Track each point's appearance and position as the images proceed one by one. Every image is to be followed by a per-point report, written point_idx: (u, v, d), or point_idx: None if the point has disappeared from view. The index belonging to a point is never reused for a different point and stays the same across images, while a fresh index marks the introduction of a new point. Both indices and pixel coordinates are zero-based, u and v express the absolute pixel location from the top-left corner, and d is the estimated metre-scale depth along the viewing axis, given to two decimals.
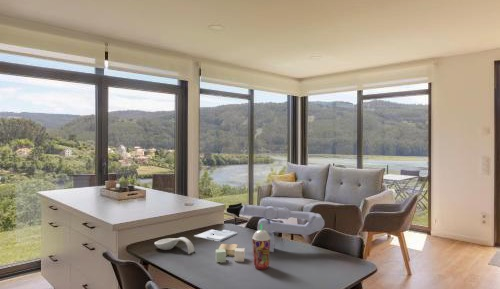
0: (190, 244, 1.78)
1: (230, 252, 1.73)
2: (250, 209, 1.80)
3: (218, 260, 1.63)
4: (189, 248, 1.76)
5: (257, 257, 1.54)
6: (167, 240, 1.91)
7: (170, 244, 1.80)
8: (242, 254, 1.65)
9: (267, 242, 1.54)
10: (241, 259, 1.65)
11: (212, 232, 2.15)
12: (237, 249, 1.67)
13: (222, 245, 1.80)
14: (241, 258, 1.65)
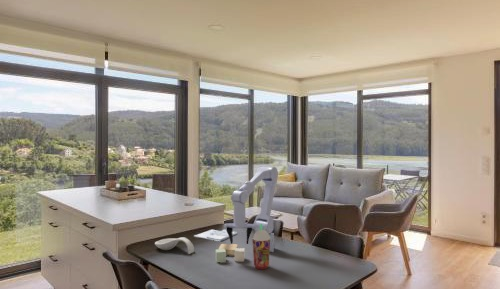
0: (190, 244, 1.78)
1: (230, 252, 1.73)
2: (244, 218, 1.66)
3: (218, 260, 1.63)
4: (189, 248, 1.76)
5: (257, 257, 1.54)
6: (167, 240, 1.91)
7: (170, 244, 1.80)
8: (242, 254, 1.65)
9: (267, 242, 1.54)
10: (241, 259, 1.65)
11: (212, 232, 2.15)
12: (237, 249, 1.67)
13: (222, 245, 1.80)
14: (241, 258, 1.65)
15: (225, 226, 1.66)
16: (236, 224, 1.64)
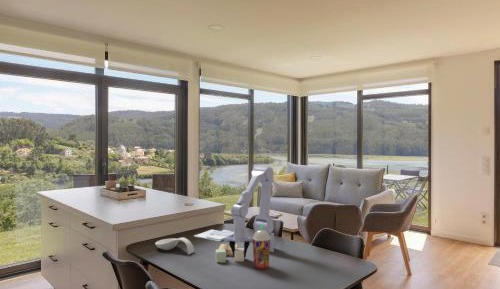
0: (190, 245, 1.77)
1: (230, 252, 1.73)
2: (244, 231, 1.66)
3: (218, 260, 1.63)
4: (189, 249, 1.75)
5: (257, 257, 1.54)
6: (168, 240, 1.90)
7: (170, 244, 1.80)
8: (242, 254, 1.65)
9: (267, 242, 1.54)
10: (241, 259, 1.65)
11: (212, 232, 2.15)
12: (237, 249, 1.67)
13: (222, 245, 1.80)
14: (241, 258, 1.65)
15: (225, 240, 1.67)
16: (236, 238, 1.65)
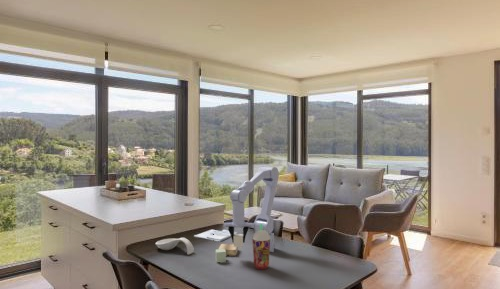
0: (190, 245, 1.77)
1: (230, 252, 1.73)
2: (243, 217, 1.67)
3: (218, 260, 1.63)
4: (188, 249, 1.75)
5: (257, 257, 1.54)
6: (168, 240, 1.90)
7: (170, 244, 1.80)
8: (241, 239, 1.65)
9: (267, 242, 1.54)
10: (240, 244, 1.66)
11: (212, 232, 2.15)
12: (236, 235, 1.68)
13: (222, 245, 1.80)
14: (240, 243, 1.66)
15: (224, 225, 1.67)
16: (235, 223, 1.65)
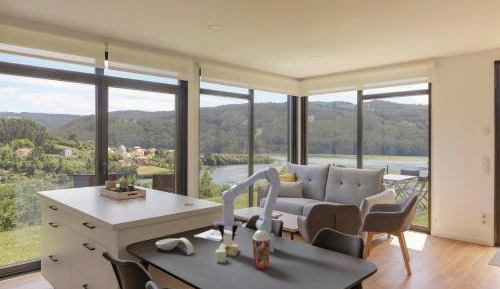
0: (190, 245, 1.76)
1: (230, 252, 1.73)
2: (232, 216, 1.76)
3: (218, 260, 1.63)
4: (188, 249, 1.75)
5: (257, 257, 1.54)
6: (168, 240, 1.90)
7: (170, 244, 1.80)
8: (230, 238, 1.75)
9: (267, 242, 1.54)
10: (229, 242, 1.75)
11: (212, 232, 2.15)
12: (226, 233, 1.78)
13: (222, 245, 1.80)
14: (229, 241, 1.75)
15: (214, 224, 1.77)
16: (225, 222, 1.75)
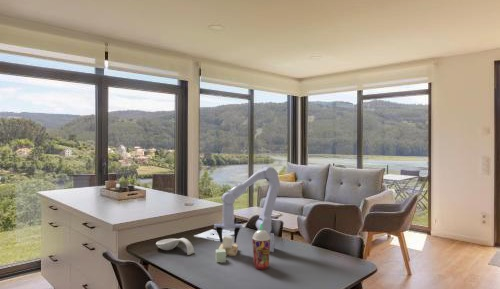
0: (190, 245, 1.76)
1: (230, 252, 1.73)
2: (232, 218, 1.76)
3: (218, 260, 1.63)
4: (188, 249, 1.74)
5: (257, 257, 1.54)
6: (169, 240, 1.90)
7: (170, 245, 1.80)
8: (230, 241, 1.75)
9: (267, 242, 1.54)
10: (229, 246, 1.75)
11: (212, 232, 2.15)
12: (226, 237, 1.78)
13: (222, 245, 1.80)
14: (229, 245, 1.75)
15: (214, 226, 1.77)
16: (225, 224, 1.75)
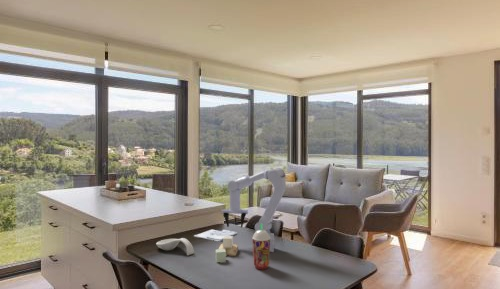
0: (189, 245, 1.76)
1: (230, 252, 1.73)
2: (239, 204, 1.88)
3: (218, 260, 1.63)
4: (188, 249, 1.74)
5: (257, 257, 1.54)
6: (169, 240, 1.90)
7: (170, 245, 1.79)
8: (230, 241, 1.75)
9: (267, 242, 1.54)
10: (229, 246, 1.75)
11: (212, 232, 2.15)
12: (226, 237, 1.78)
13: (222, 245, 1.80)
14: (229, 245, 1.75)
15: (222, 211, 1.89)
16: (232, 209, 1.87)
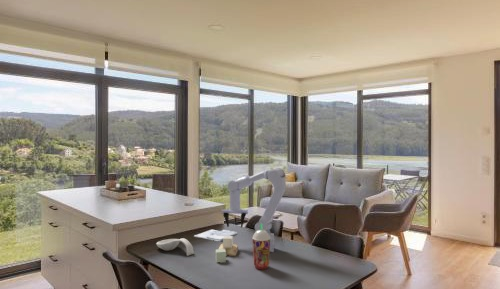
0: (189, 246, 1.75)
1: (230, 252, 1.73)
2: (239, 204, 1.88)
3: (218, 260, 1.63)
4: (188, 250, 1.73)
5: (257, 257, 1.54)
6: (170, 240, 1.90)
7: (170, 245, 1.79)
8: (230, 241, 1.75)
9: (267, 242, 1.54)
10: (229, 246, 1.75)
11: (212, 232, 2.15)
12: (226, 237, 1.78)
13: (222, 245, 1.80)
14: (229, 245, 1.75)
15: (222, 211, 1.89)
16: (232, 209, 1.87)
